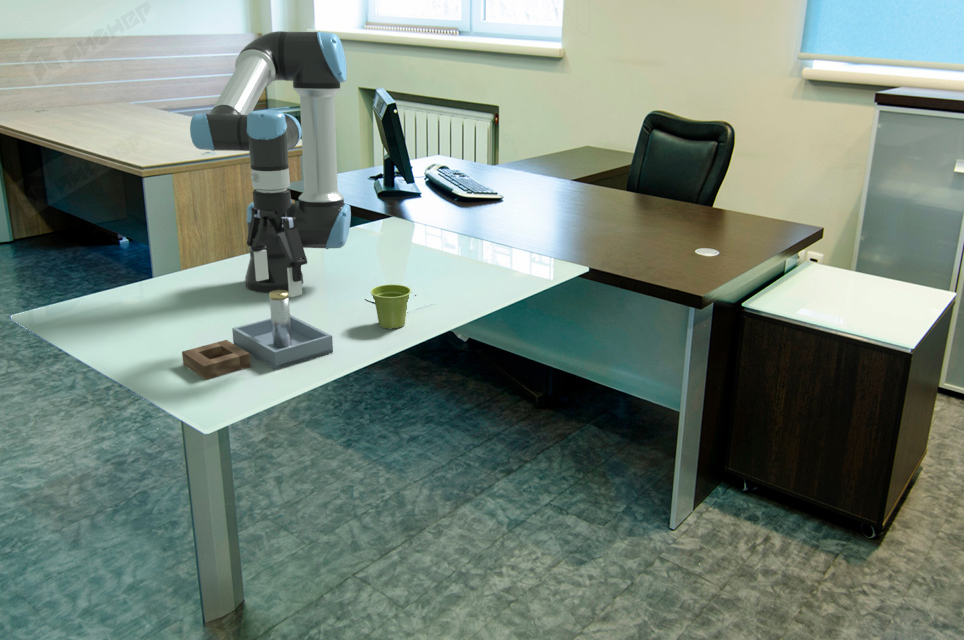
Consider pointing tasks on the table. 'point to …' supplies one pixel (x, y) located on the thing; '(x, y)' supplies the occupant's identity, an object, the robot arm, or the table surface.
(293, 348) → the tray
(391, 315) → the plant pot
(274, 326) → the pin
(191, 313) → the table surface
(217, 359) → the socket block
